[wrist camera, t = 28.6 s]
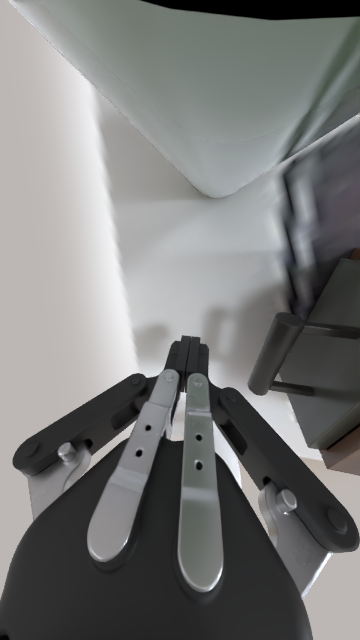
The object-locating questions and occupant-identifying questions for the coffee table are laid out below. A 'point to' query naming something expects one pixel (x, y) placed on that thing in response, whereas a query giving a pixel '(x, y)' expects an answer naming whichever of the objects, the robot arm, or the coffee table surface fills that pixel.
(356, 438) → the cabinet
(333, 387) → the drawer
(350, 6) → the green cylinder
